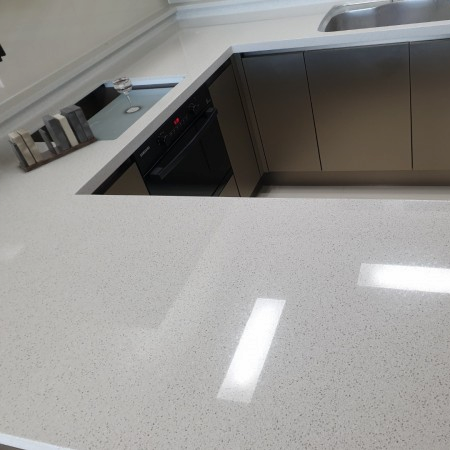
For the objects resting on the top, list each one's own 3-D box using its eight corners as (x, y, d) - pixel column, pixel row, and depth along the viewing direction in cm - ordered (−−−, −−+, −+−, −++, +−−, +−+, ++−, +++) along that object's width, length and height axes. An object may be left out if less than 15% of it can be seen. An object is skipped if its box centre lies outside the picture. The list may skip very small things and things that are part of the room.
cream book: (72, 146, 157) (58, 119, 151) (65, 142, 161) (52, 116, 155) (78, 144, 158) (65, 116, 152) (71, 140, 162) (58, 113, 156)
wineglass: (131, 106, 185) (119, 77, 178) (144, 106, 182) (133, 76, 175) (120, 113, 180) (108, 83, 173) (134, 113, 178) (122, 83, 171)
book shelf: (27, 171, 149) (7, 137, 142) (20, 165, 154) (0, 132, 147) (97, 140, 161) (81, 107, 154) (88, 136, 166) (72, 103, 159)
